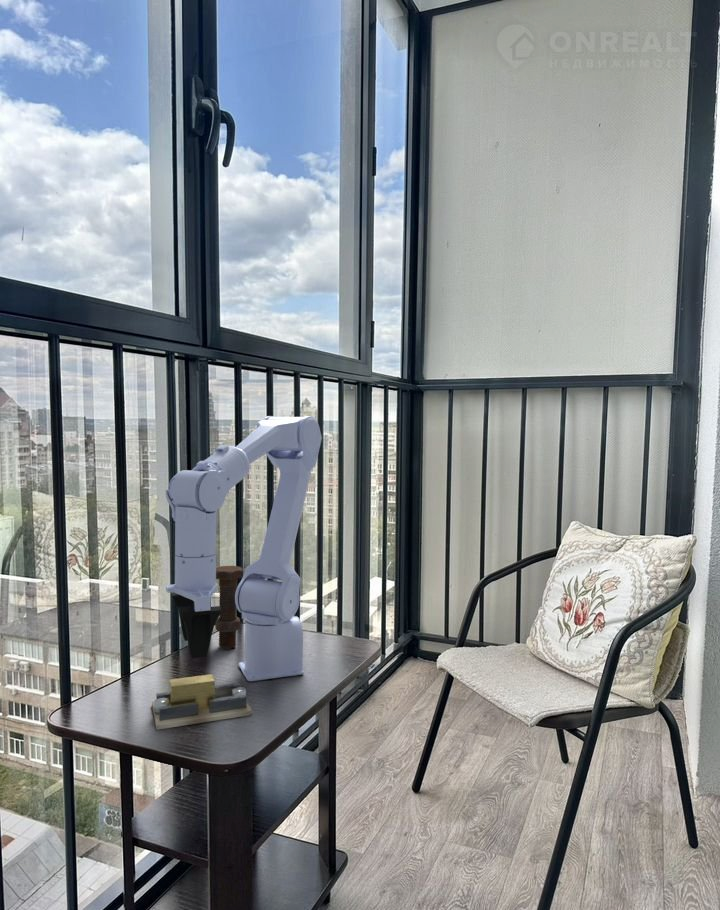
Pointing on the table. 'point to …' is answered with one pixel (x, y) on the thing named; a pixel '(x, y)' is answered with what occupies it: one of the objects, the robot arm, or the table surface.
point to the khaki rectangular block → (193, 690)
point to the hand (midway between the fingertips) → (194, 647)
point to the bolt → (228, 605)
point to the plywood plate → (201, 717)
